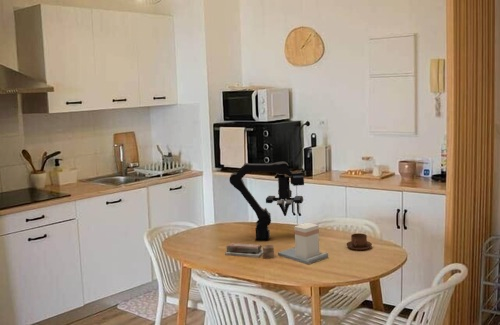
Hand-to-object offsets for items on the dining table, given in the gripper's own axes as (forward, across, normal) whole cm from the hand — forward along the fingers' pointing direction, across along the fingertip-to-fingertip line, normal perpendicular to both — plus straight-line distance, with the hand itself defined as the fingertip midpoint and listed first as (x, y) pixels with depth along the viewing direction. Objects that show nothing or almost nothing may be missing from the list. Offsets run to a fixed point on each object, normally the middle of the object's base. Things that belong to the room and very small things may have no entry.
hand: (285, 215), depth 296 cm
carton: (+11, -16, +30) cm, 36 cm away
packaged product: (+13, +15, +27) cm, 33 cm away
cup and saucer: (+12, -38, +12) cm, 42 cm away
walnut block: (+12, +2, +31) cm, 33 cm away
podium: (+12, -14, +28) cm, 34 cm away
